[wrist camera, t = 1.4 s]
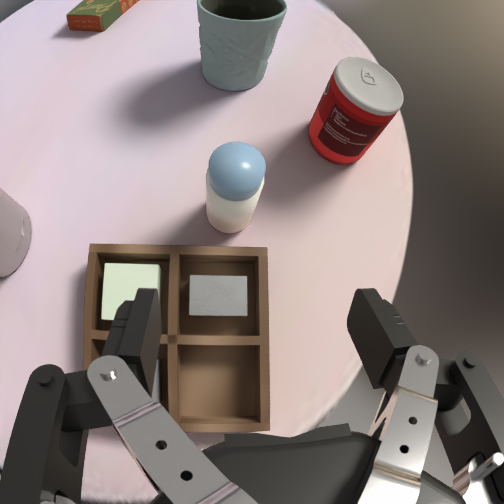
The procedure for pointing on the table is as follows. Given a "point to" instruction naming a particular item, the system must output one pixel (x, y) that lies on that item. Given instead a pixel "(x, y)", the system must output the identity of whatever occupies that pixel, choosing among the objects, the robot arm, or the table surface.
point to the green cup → (237, 40)
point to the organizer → (197, 335)
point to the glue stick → (233, 186)
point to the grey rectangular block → (218, 296)
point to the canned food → (354, 110)
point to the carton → (97, 14)
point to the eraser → (157, 383)
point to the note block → (128, 284)
